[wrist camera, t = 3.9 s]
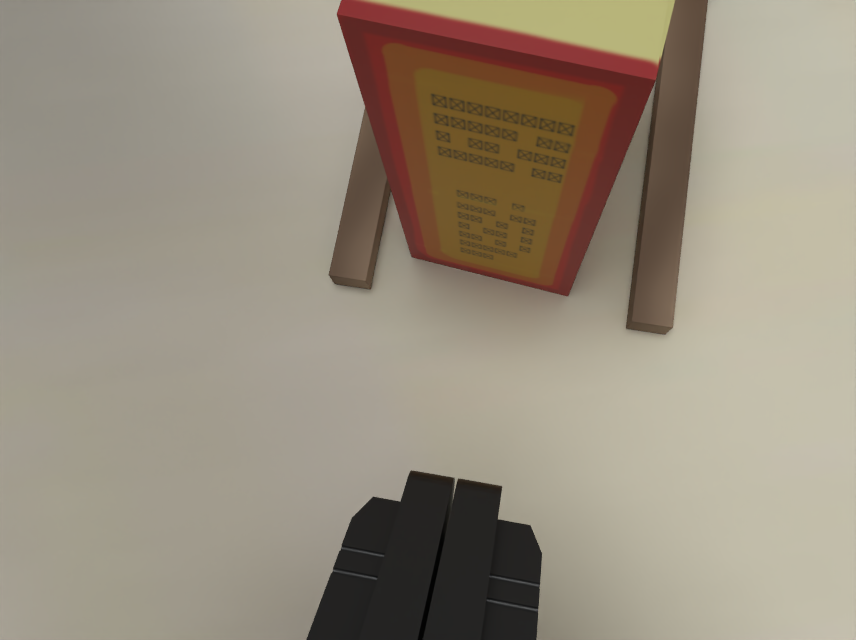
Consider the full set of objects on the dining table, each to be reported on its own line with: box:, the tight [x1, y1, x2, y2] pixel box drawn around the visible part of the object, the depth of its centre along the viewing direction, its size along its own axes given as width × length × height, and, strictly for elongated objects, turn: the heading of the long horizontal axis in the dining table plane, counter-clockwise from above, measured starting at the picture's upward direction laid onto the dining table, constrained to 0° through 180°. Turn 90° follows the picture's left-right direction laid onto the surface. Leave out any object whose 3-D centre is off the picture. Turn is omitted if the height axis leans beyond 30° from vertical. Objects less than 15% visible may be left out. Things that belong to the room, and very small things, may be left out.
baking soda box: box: [337, 0, 675, 296], centre depth 23 cm, size 10×6×16 cm
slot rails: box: [329, 0, 708, 334], centre depth 30 cm, size 13×15×1 cm
